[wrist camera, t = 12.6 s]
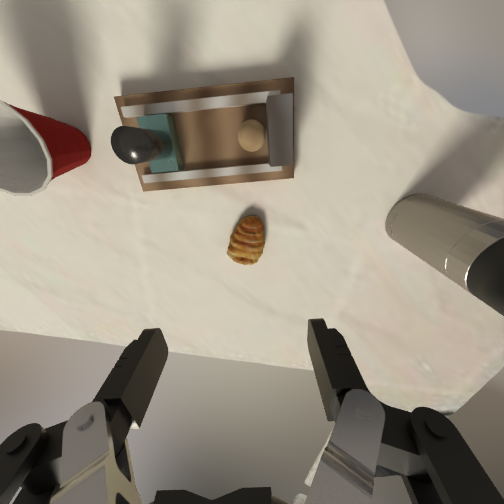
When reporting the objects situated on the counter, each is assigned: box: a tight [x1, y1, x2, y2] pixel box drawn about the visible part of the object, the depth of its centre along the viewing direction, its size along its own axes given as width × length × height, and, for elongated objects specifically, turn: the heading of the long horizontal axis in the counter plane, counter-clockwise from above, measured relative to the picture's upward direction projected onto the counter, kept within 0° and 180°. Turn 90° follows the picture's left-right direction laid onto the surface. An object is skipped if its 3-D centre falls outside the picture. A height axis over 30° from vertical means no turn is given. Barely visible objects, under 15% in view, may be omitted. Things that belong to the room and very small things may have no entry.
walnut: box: [237, 119, 266, 152], centre depth 30 cm, size 4×4×4 cm
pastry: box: [227, 215, 264, 265], centre depth 40 cm, size 9×7×4 cm
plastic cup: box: [0, 100, 91, 196], centre depth 29 cm, size 11×11×12 cm
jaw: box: [111, 114, 184, 173], centre depth 27 cm, size 4×7×11 cm, turn 5°
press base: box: [114, 77, 294, 191], centre depth 31 cm, size 25×13×7 cm, turn 95°
